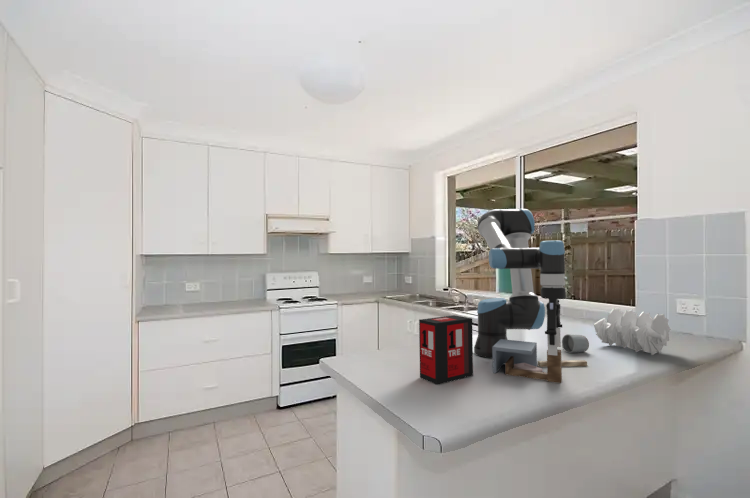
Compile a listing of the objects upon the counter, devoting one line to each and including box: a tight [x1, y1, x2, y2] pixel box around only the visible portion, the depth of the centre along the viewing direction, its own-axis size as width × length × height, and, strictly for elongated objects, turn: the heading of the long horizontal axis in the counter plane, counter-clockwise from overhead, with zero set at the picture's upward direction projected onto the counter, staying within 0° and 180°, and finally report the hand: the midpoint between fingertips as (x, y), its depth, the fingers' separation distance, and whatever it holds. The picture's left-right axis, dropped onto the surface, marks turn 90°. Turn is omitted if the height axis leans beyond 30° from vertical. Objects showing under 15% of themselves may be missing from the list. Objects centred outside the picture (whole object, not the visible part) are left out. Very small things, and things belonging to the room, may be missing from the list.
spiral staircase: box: [593, 307, 671, 356], centre depth 165 cm, size 18×18×25 cm
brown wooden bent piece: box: [504, 348, 563, 384], centre depth 133 cm, size 18×11×10 cm, turn 60°
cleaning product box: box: [418, 314, 474, 386], centre depth 132 cm, size 16×9×20 cm, turn 122°
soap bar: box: [514, 363, 544, 372], centre depth 136 cm, size 5×9×2 cm, turn 23°
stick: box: [537, 359, 588, 368], centre depth 143 cm, size 18×2×2 cm, turn 92°
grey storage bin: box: [492, 339, 538, 374], centre depth 138 cm, size 13×14×9 cm
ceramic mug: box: [561, 333, 590, 354], centre depth 164 cm, size 11×8×8 cm
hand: (554, 350), depth 126 cm, fingers open, 13 cm apart
